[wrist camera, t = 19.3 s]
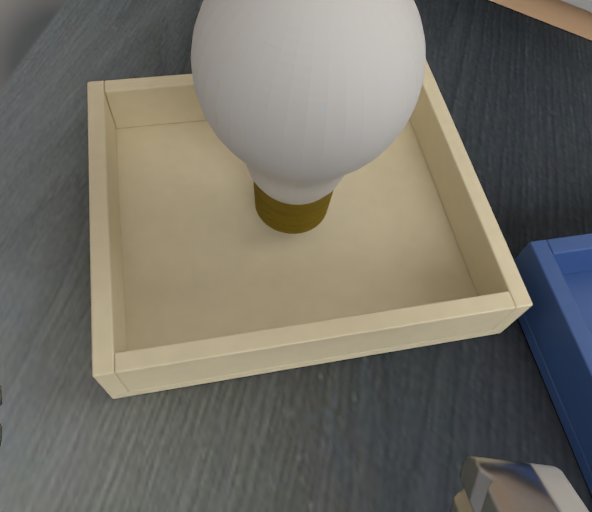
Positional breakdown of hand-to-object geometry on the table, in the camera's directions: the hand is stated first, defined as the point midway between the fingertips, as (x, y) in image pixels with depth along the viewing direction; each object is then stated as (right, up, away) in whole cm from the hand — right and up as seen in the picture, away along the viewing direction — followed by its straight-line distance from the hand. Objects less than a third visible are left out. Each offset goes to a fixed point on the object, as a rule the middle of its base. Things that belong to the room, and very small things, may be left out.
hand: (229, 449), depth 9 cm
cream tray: (+1, +5, +11) cm, 12 cm away
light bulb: (+1, +5, +11) cm, 12 cm away
